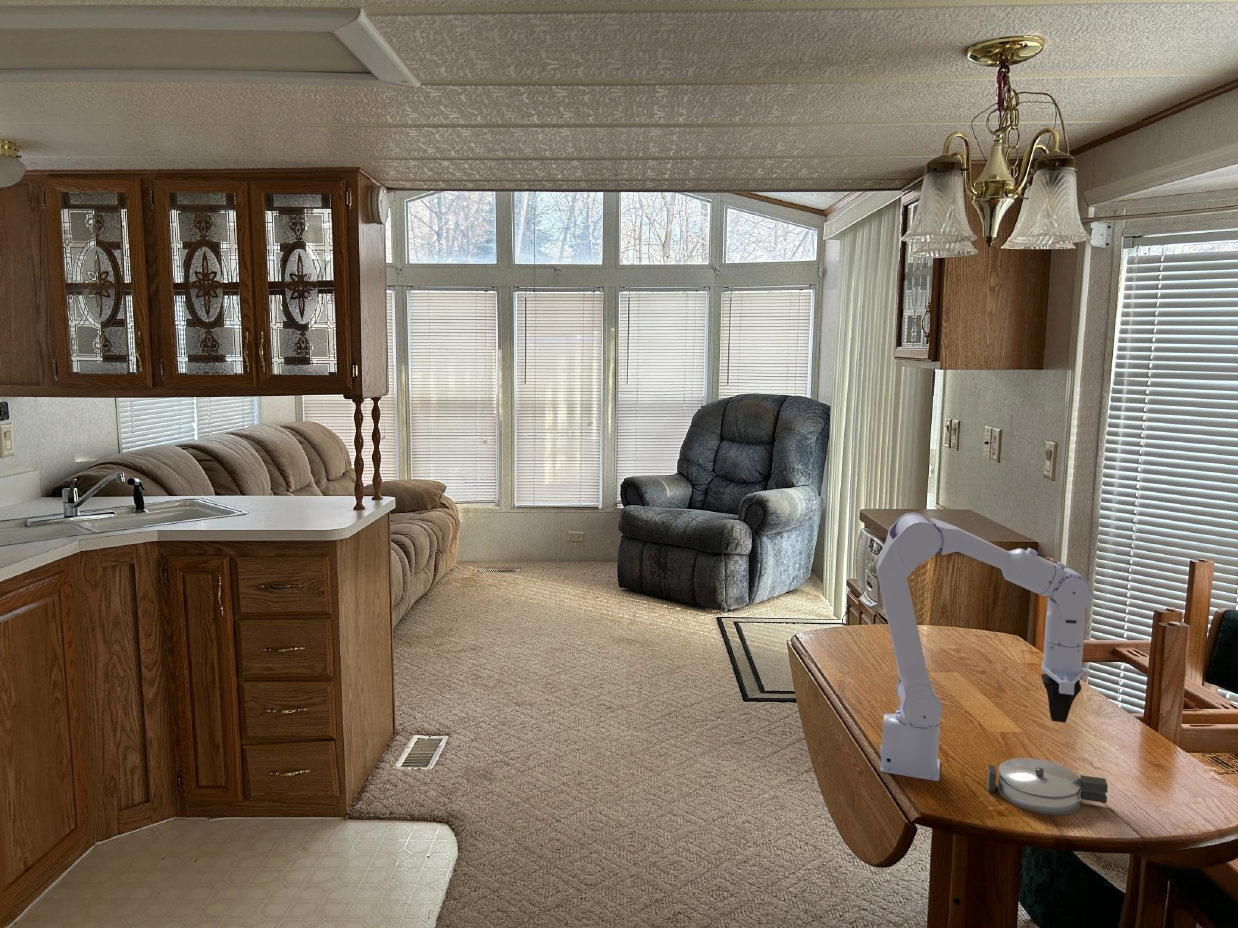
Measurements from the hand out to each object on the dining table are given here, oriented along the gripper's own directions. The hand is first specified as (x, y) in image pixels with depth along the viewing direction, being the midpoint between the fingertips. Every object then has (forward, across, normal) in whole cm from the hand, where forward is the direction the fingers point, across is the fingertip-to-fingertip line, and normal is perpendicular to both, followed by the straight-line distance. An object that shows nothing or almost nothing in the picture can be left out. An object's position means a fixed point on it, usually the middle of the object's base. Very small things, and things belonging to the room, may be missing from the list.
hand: (1058, 720), depth 143 cm
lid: (+8, -7, +1) cm, 10 cm away
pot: (+10, -7, +3) cm, 13 cm away
